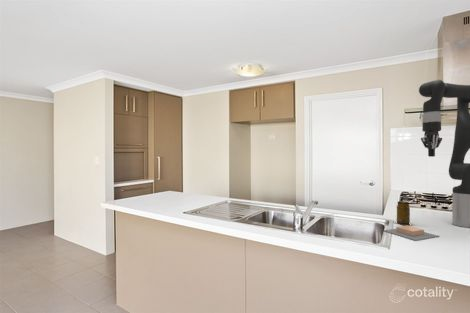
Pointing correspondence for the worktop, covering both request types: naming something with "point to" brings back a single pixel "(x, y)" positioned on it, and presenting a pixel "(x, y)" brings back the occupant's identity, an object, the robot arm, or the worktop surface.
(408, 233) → the tile
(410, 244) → the worktop surface
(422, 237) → the mat
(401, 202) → the condiment
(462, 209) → the robot arm
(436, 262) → the worktop surface
